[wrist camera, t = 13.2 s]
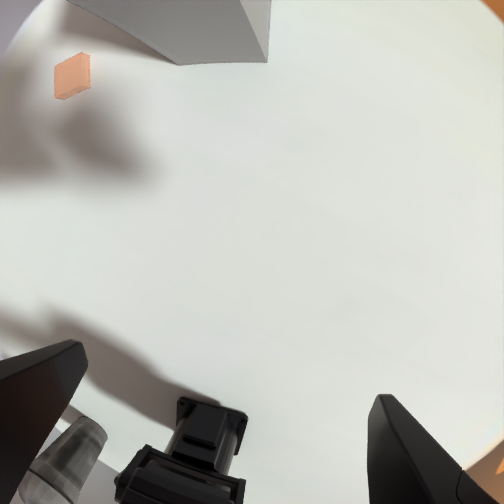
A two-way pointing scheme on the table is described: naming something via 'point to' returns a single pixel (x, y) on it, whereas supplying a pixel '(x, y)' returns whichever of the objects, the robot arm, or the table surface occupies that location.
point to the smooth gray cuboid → (192, 27)
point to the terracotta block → (72, 76)
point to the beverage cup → (64, 465)
